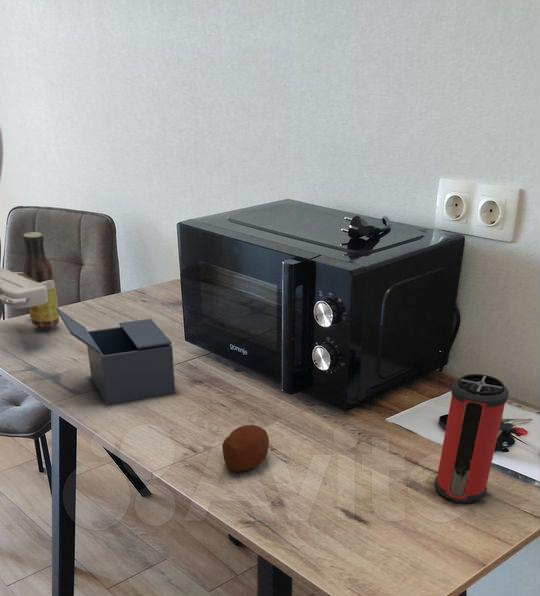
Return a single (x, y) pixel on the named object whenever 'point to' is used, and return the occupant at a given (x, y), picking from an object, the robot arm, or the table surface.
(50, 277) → the sauce bottle
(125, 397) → the carton
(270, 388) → the table surface
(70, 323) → the flap
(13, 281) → the robot arm
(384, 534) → the table surface
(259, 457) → the potato
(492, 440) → the speaker
